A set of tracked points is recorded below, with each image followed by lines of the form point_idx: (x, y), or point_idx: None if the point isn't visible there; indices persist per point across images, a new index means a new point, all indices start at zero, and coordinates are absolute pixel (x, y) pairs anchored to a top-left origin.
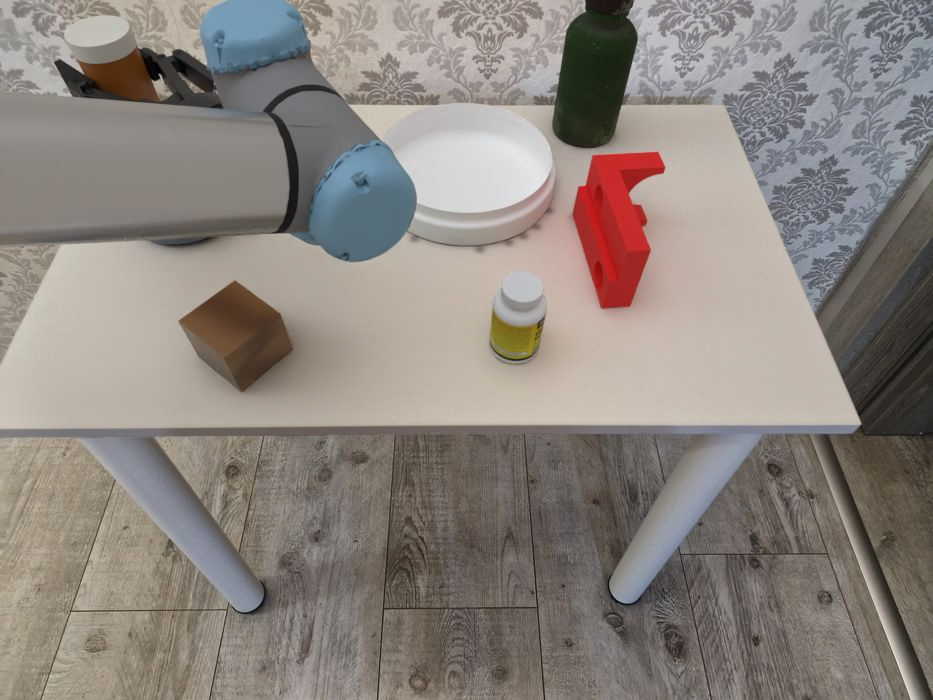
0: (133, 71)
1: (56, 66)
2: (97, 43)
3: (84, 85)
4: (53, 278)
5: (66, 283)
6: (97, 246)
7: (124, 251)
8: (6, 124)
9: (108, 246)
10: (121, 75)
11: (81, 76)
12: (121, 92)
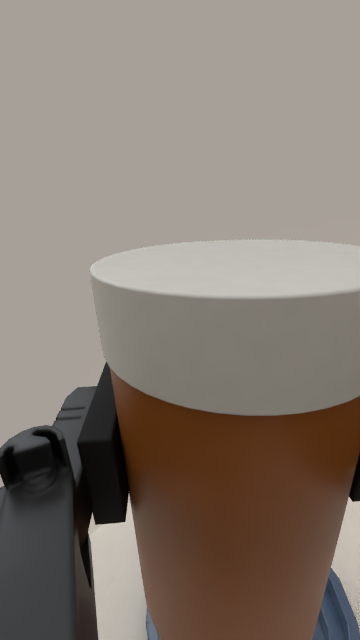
0: (303, 487)
1: None
2: (177, 283)
3: (31, 454)
4: None
5: None
6: (96, 580)
7: (110, 635)
8: None
9: (104, 595)
10: (226, 486)
11: (109, 390)
12: (188, 540)
